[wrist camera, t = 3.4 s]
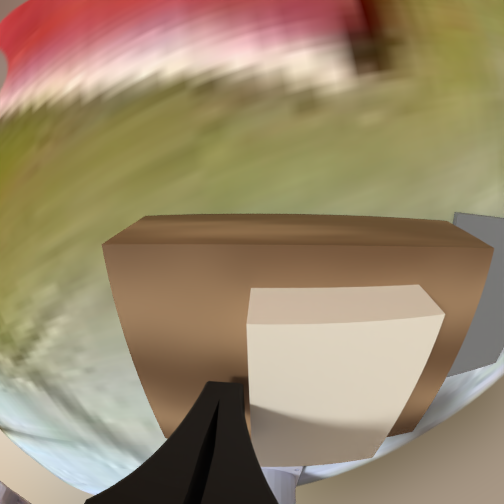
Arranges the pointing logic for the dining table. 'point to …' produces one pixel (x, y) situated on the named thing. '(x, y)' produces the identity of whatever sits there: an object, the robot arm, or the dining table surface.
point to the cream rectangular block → (333, 368)
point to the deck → (274, 276)
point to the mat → (484, 298)
